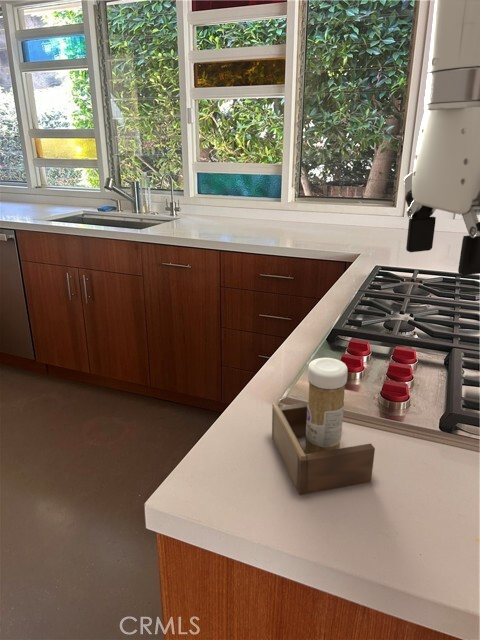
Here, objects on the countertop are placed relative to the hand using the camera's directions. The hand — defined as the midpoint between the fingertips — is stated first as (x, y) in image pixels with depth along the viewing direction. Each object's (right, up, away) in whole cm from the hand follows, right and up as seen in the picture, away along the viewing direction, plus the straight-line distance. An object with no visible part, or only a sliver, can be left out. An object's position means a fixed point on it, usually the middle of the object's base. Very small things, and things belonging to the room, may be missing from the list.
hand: (443, 261), depth 52 cm
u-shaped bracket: (-13, -24, +7) cm, 28 cm away
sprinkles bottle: (-12, -25, +7) cm, 28 cm away
